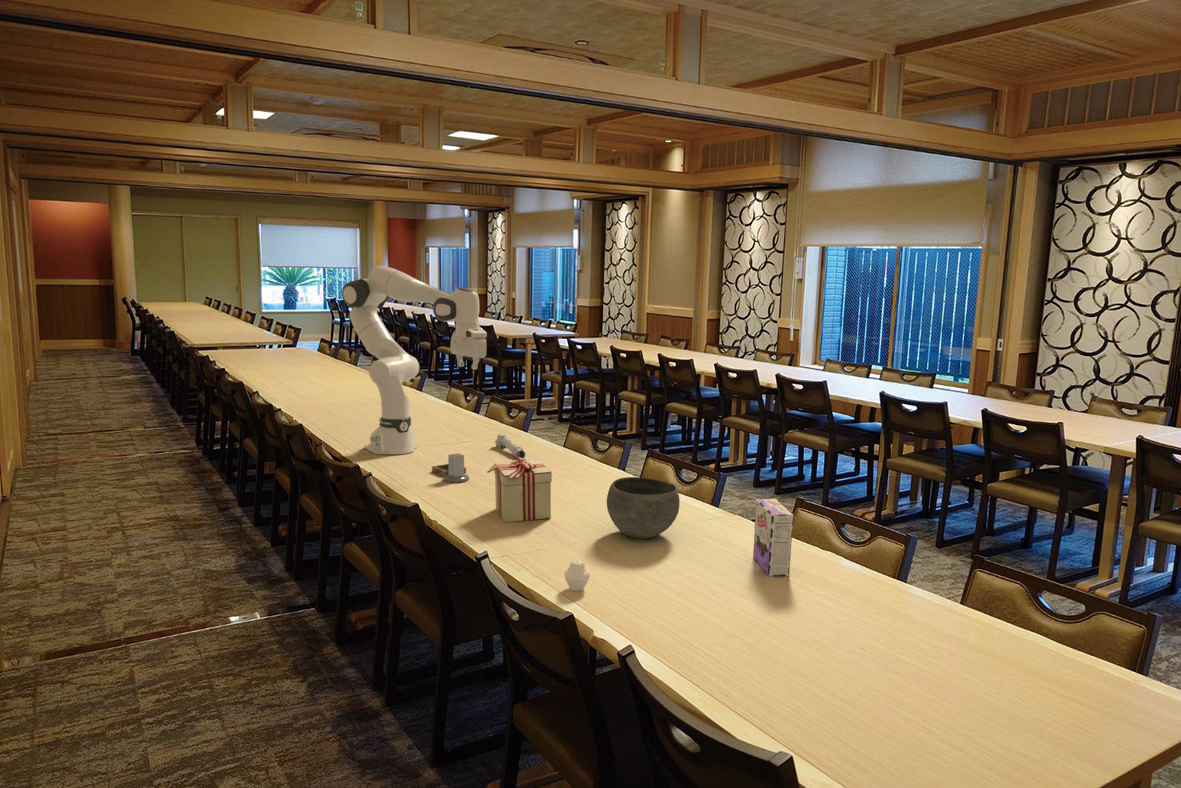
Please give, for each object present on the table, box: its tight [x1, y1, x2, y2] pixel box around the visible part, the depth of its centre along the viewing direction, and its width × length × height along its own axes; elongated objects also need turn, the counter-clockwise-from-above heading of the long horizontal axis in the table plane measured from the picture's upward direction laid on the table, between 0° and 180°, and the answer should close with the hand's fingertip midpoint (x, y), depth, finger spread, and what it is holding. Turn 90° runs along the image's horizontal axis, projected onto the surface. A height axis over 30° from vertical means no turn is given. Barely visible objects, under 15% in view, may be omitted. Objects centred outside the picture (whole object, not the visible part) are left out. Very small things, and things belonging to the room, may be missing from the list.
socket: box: [431, 463, 467, 477], centre depth 295 cm, size 9×9×2 cm
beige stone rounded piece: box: [564, 560, 591, 592], centre depth 191 cm, size 6×6×7 cm
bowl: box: [606, 476, 680, 540], centre depth 229 cm, size 21×21×15 cm
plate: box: [443, 473, 470, 484], centre depth 286 cm, size 9×9×1 cm
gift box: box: [486, 456, 553, 523], centre depth 246 cm, size 17×18×17 cm
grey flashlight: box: [494, 432, 526, 459], centre depth 329 cm, size 5×7×25 cm
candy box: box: [752, 498, 794, 578], centre depth 207 cm, size 14×6×16 cm, turn 5°
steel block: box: [447, 452, 465, 479], centre depth 285 cm, size 4×4×8 cm
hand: (467, 367), depth 304 cm, fingers open, 8 cm apart
